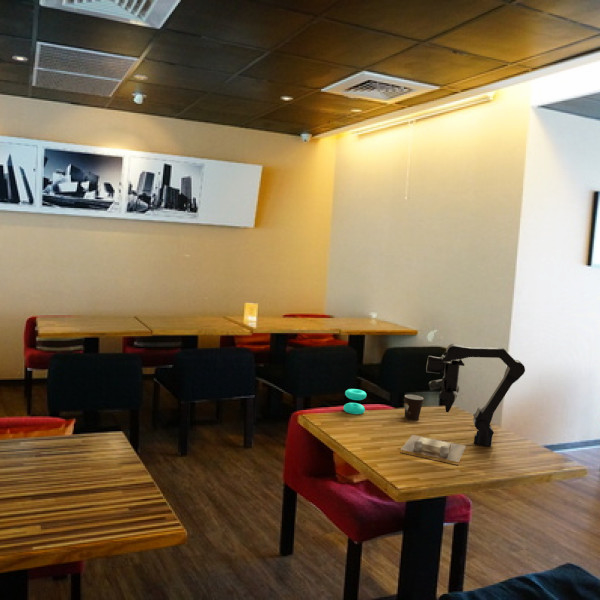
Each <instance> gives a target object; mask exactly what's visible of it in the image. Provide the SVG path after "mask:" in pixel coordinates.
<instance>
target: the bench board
mask: <svg viewBox="0 0 600 600" xmlns="http://www.w3.org/2000/svg"><path fill="white" fill-rule="evenodd" d="M421 437H423V438H426V437H425V436H420V435H417V434H416V435H415V434H411V435H410V437H409V438H408V439H407V441H406V442H405V443H404V444H403V446H402V447H401V448H400V451H405V452H399V454H400V455H401V454H402V455H406V456H411V457H415V458H419V459H425V460H428V461H432V462H433V461H434V462H438V463H443V464H447V465H451V466H456V467H459V464H456V463H459V462H460V460H461V458H462V456H463V454H464V452H465V449H466V448H467V445H464V444H460V443H459V444H458V443H455V442H449V441H446V440H445V441H444V440H440V439H435V438H432V439H433V440H437V441H442V442H447V443H451V450H450V451H449V448H448V447H446V446H441V449H440V454H438V453H434V452H429V451H424V450H422V442H421V441H418V440H419V439H420V438H421ZM427 438H428V439H431V438H430V437H427ZM448 451H449V453H448ZM407 452H409V453H413V454H409V453H407ZM416 454H418V455H416ZM419 455H424V456H427V457H428V456H429V457H432V458H437V459H442V460H446V461H451V462H455V464H454V463H451V462H446V461H442V460H437V459H432V458H427V457H424V456H419Z"/></svg>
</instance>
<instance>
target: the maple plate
mask: <svg viewBox="0 0 600 600" xmlns="http://www.w3.org/2000/svg"><path fill="white" fill-rule="evenodd" d="M423 437H424V436H421V438H420V439H419V440H418V441H421V442H422V450H424V451H429V452H434V453H438V454H440V449H441V446H446V447H448V448H449V451H450V450H451V443H452V442H450V443H447V442H448V441H445V442H442V441H443V440H440V441H437V440H438V439H435V440H433V439H434V438H430V439H428V438H429V437H425V438H423ZM449 451H448V453H449Z"/></svg>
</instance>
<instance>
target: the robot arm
mask: <svg viewBox="0 0 600 600" xmlns="http://www.w3.org/2000/svg"><path fill="white" fill-rule="evenodd" d="M445 350H446V351H445V352H444V353H443V354H442V355H441V356H439V357H438V356H432V355H428V356H427V362H426V368H425V369H426V370H425V372H426V373H431V374H441V373H442V372H443V376H442V378H441V379H436V380H435V379H434V380H431V381H429V382H428V387H429V389H430V391H435V390H440V392H439V395H438V399H441V400H443V401H444V406H445V413H449V412H450V411H451V408H452V407H453V405H454V403H455V402H456V401H455V400H456V399H457V397H458V395H457V393H459V391H460V386H459V385H458V383H459V382H458V381H459V380H460V378H459V374H460V366H461V367H464V366H465V362H463V361H462V360H463V359H468V358H490V359H493V358H494V359H500V360H501V361H502V362H503V363H504V364H505V365H506V368H505V371H504V374H503V377H502V378H501V379H502V380H500V382H499V384H497V387H496V388H495V390H494V391H493V393H492V395H491V396H490V398H489V399H488V401H487V402H486V404H485V405H484V406H483V407H482V408H480V407H479V406H478V407H477V409H476V411H475V413H473V417H472V418H473V419H472V421H473V425H474V427H475V429H476V430H477V431H476V433H475V434H474V439H473V444H475V445H477V446H479V447H483V448H487V447H488V448H492V443H493V438H494V437H493V435H494V434H495V431H494V429H493V427H492V426H491V422H492V421H493V416H494V413H495V412H496V411H497V408H498V407H499V405H500V404H501V402H502V400H503V399H504V398H505V396H506V394H508V391H509V390H510V388H511V387H512V385H513V384H514V383H516V382H517V381H518V380H519V379H520V378H521V377H522V376H523V375H524V373H525V372H526V367H525V366H524V364H523V363H522V362H521V361H520V360H518V359H514V358H513V356H511V355H510V354H509V353H508V352H507V350H506V349H505V348H504V347H502V346H501V347H500V346H499V347H485V346H484V347H478V346H477V347H473V346H466V345H462V344H457V343H450V344H449V345H448V346H447V347H446V349H445Z"/></svg>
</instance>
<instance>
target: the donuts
mask: <svg viewBox="0 0 600 600" xmlns="http://www.w3.org/2000/svg"><path fill="white" fill-rule="evenodd" d="M344 395H345V396H346V398H348V399H349V400H353V401H362V400H364V399H366V398H367V393H366V391H364V390H362V389H358V388H357V389H356V388H348V389H347V390H345V392H344ZM343 411H344V412H346V413H348V414H352V415H362V414H364V413H365V412H366V408H365V407H364V405H362V404H361V403H357V402H348V403H345V404H344V405H343Z"/></svg>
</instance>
